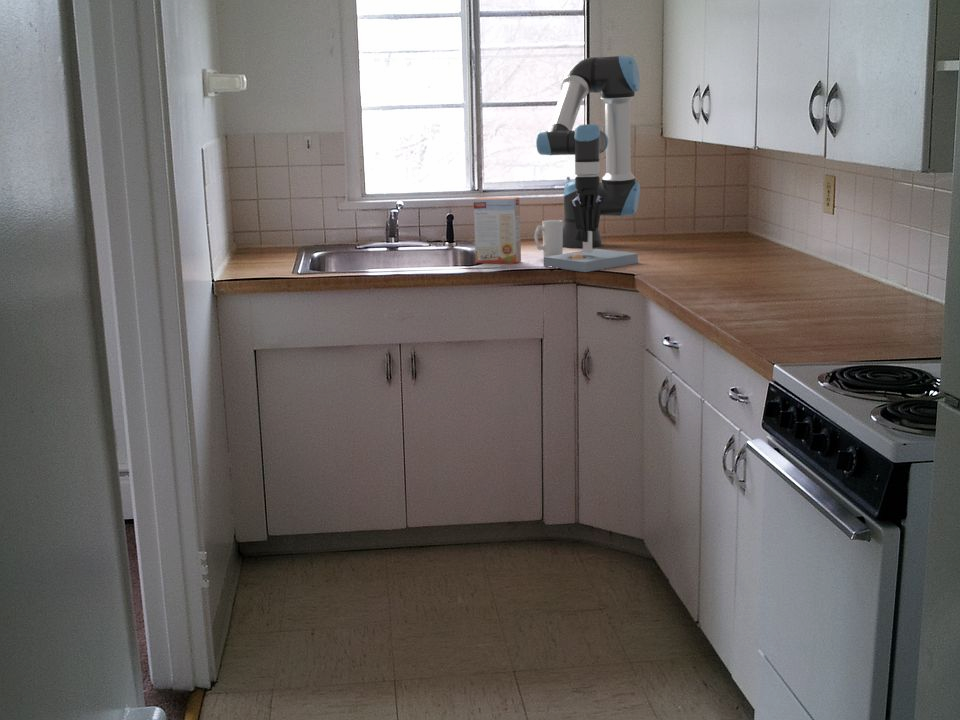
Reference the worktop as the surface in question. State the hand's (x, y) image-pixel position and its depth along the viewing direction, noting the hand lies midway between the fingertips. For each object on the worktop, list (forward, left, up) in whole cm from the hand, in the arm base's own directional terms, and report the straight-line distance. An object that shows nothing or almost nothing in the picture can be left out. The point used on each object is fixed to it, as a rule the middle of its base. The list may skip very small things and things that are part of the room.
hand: (587, 251), depth 326 cm
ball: (+4, -1, -2) cm, 5 cm away
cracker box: (+14, -27, -4) cm, 31 cm away
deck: (-2, 0, -4) cm, 4 cm away
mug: (-4, -22, -4) cm, 23 cm away
